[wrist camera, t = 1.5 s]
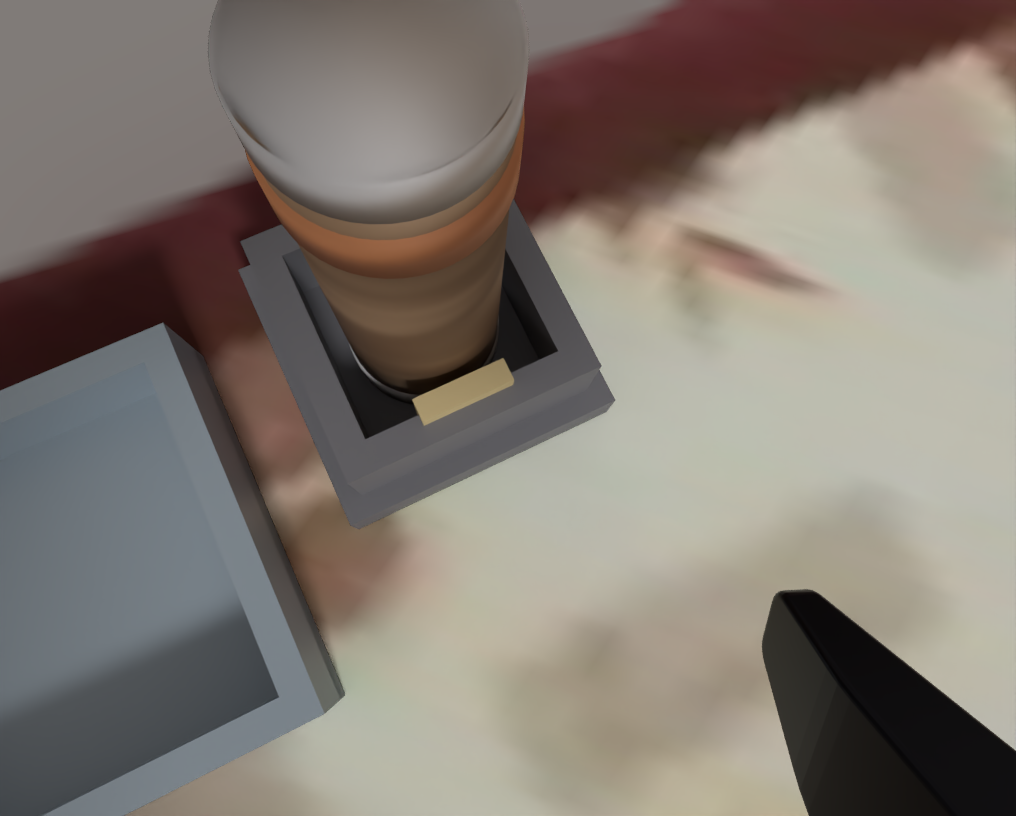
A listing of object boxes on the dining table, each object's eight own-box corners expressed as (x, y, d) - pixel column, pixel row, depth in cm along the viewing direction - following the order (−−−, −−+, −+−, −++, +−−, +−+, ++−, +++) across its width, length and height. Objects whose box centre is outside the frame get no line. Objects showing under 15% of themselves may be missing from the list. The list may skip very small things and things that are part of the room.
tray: (345, 694, 21) (324, 713, 18) (-45, 891, 19) (-136, 947, 16) (203, 355, 23) (163, 322, 20) (-161, 511, 21) (-264, 500, 18)
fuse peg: (448, 435, 21) (420, 251, 9) (320, 357, 21) (135, 83, 10) (527, 312, 22) (591, 2, 10) (403, 239, 22) (325, -143, 10)
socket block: (605, 412, 23) (638, 371, 18) (358, 529, 22) (330, 516, 17) (490, 189, 24) (494, 103, 20) (253, 289, 23) (201, 221, 19)
